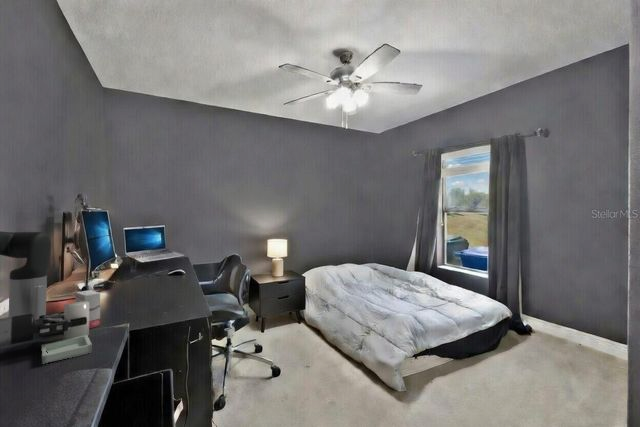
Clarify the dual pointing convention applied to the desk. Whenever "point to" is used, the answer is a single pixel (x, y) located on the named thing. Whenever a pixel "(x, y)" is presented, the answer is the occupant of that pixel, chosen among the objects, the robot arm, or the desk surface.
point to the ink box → (91, 305)
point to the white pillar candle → (74, 312)
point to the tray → (66, 349)
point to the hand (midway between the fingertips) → (85, 317)
